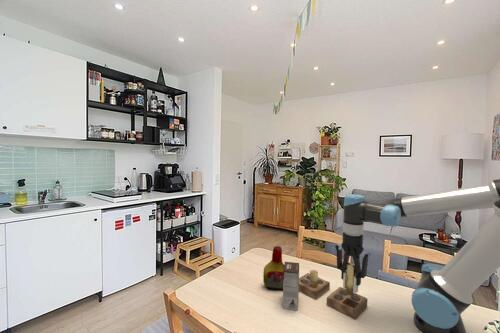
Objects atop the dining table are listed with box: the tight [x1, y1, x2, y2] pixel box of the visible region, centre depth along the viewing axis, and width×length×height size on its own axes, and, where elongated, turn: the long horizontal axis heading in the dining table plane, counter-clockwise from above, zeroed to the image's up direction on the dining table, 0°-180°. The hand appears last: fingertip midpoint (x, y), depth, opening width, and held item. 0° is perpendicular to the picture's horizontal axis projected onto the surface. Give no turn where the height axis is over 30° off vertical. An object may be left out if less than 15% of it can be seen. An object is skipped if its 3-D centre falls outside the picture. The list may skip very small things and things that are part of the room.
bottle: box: [262, 245, 285, 291], centre depth 113 cm, size 12×6×20 cm, turn 76°
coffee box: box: [282, 261, 300, 311], centre depth 101 cm, size 9×6×16 cm
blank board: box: [326, 286, 368, 320], centre depth 100 cm, size 12×12×4 cm
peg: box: [346, 262, 356, 296], centre depth 97 cm, size 4×4×12 cm
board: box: [299, 269, 331, 301], centre depth 113 cm, size 12×12×10 cm
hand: (350, 289), depth 97 cm, fingers closed on peg, 3 cm apart
